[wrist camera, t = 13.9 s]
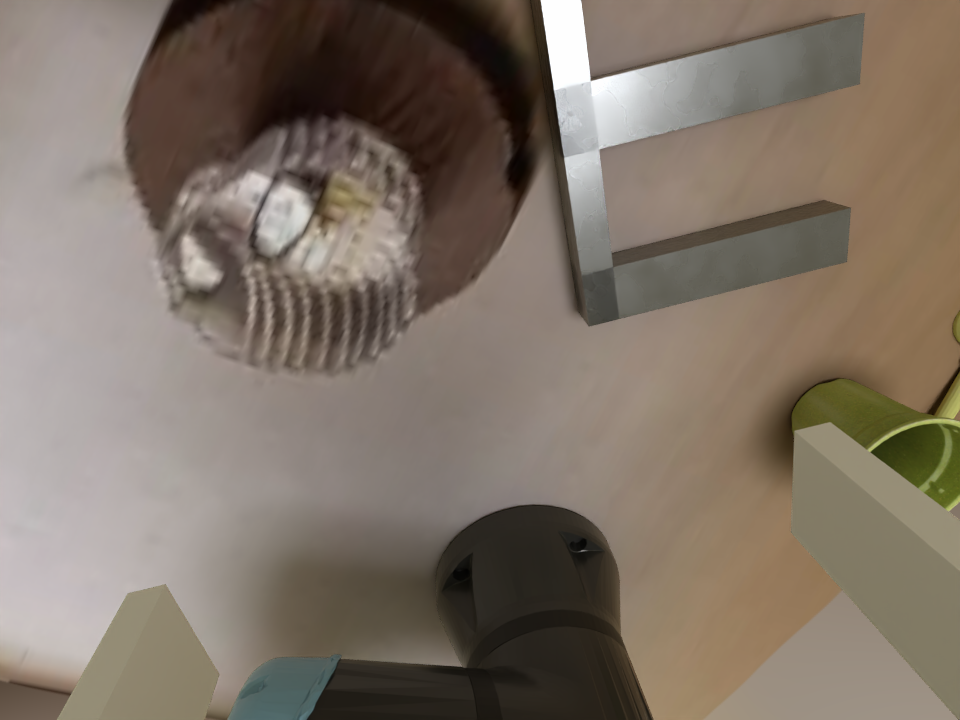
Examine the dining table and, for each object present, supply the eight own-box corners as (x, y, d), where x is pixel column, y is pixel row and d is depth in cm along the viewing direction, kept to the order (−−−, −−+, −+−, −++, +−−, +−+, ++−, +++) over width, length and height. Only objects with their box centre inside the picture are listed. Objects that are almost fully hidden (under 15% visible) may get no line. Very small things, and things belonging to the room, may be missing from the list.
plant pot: (829, 476, 48) (909, 552, 40) (743, 439, 46) (812, 512, 38) (908, 385, 45) (1012, 449, 37) (822, 339, 42) (915, 397, 35)
